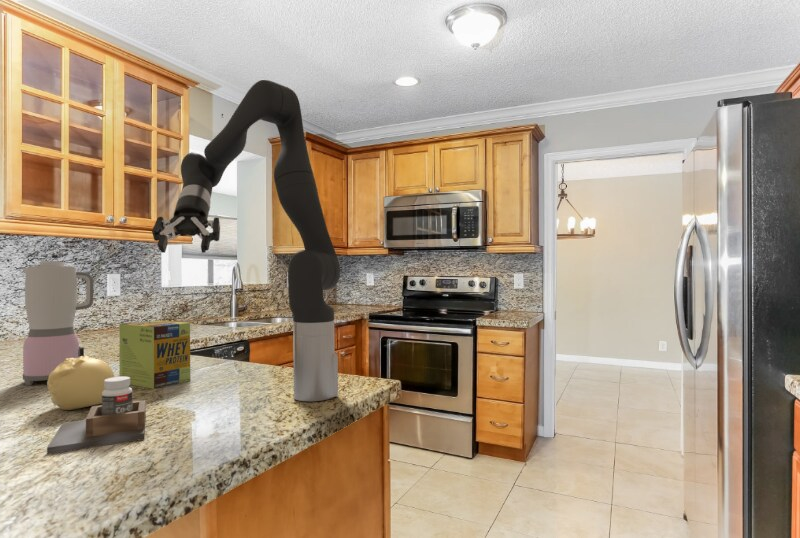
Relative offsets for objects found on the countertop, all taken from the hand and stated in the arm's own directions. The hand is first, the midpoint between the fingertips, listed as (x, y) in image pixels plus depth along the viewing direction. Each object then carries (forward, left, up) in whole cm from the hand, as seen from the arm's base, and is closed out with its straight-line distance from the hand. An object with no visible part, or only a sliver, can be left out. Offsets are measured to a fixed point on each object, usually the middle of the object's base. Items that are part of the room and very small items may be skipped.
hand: (182, 249), depth 105 cm
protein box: (+6, -23, -34) cm, 42 cm away
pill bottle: (+12, +17, -33) cm, 39 cm away
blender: (+29, -40, -34) cm, 60 cm away
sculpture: (+20, -5, -34) cm, 40 cm away
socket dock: (+14, +18, -34) cm, 41 cm away
